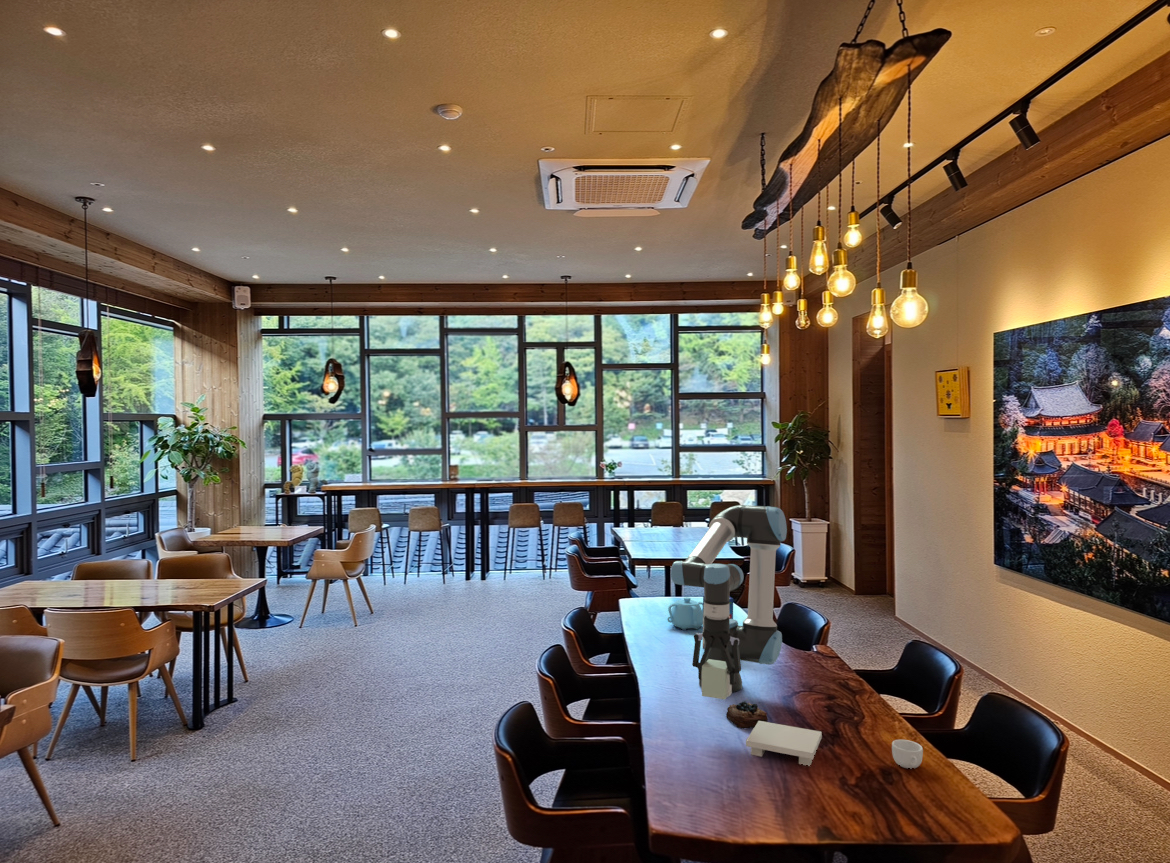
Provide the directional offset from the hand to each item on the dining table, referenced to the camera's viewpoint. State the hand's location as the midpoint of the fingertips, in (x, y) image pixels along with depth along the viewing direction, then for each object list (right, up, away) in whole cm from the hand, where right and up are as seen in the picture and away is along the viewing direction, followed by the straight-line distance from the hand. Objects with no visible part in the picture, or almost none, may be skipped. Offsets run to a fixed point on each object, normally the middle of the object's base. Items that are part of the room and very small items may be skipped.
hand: (716, 692), depth 221 cm
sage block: (0, 0, 0) cm, 0 cm away
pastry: (+11, -13, +9) cm, 19 cm away
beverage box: (+16, -13, +86) cm, 89 cm away
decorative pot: (+8, -13, +123) cm, 124 cm away
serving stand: (+17, -12, -13) cm, 25 cm away
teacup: (+48, -13, -22) cm, 54 cm away
